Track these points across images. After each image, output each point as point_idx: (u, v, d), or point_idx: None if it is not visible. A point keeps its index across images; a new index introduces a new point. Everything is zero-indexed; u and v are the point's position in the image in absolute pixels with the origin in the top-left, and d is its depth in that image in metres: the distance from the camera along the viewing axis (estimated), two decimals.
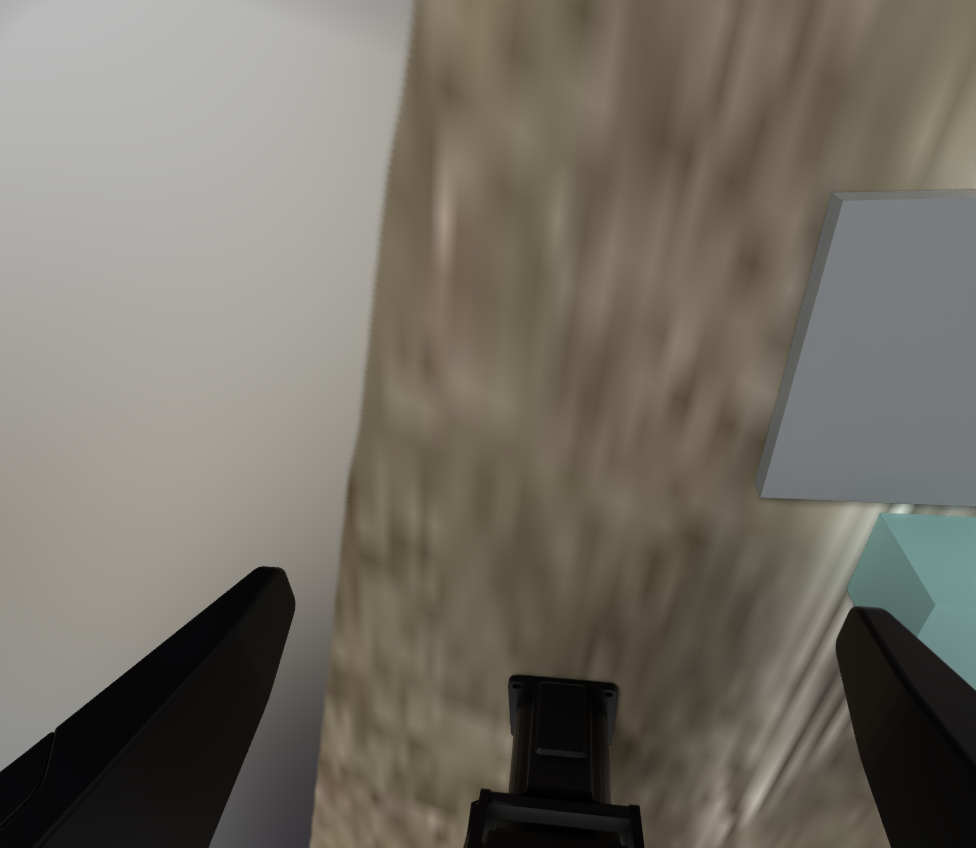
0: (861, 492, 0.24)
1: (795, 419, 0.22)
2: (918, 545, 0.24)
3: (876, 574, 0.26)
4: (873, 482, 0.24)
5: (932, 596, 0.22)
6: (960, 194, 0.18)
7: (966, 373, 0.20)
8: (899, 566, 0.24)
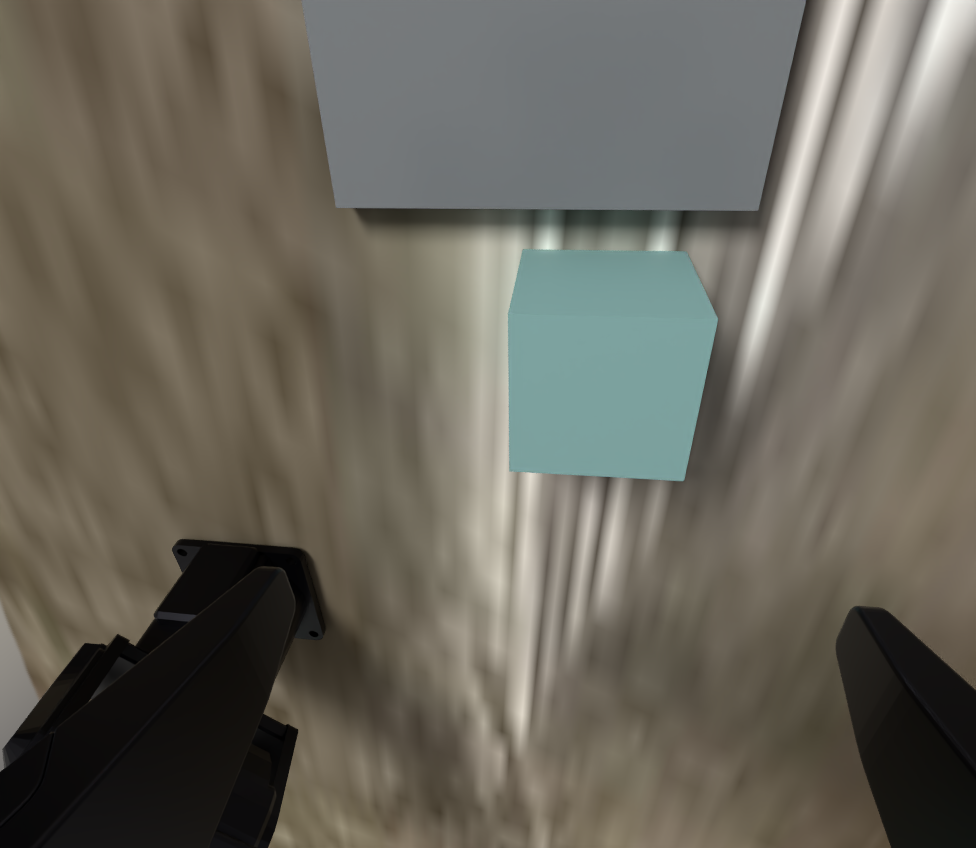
0: (460, 190, 0.17)
1: (327, 49, 0.15)
2: (543, 270, 0.17)
3: None
4: (470, 170, 0.16)
5: (512, 307, 0.15)
6: None
7: None
8: None
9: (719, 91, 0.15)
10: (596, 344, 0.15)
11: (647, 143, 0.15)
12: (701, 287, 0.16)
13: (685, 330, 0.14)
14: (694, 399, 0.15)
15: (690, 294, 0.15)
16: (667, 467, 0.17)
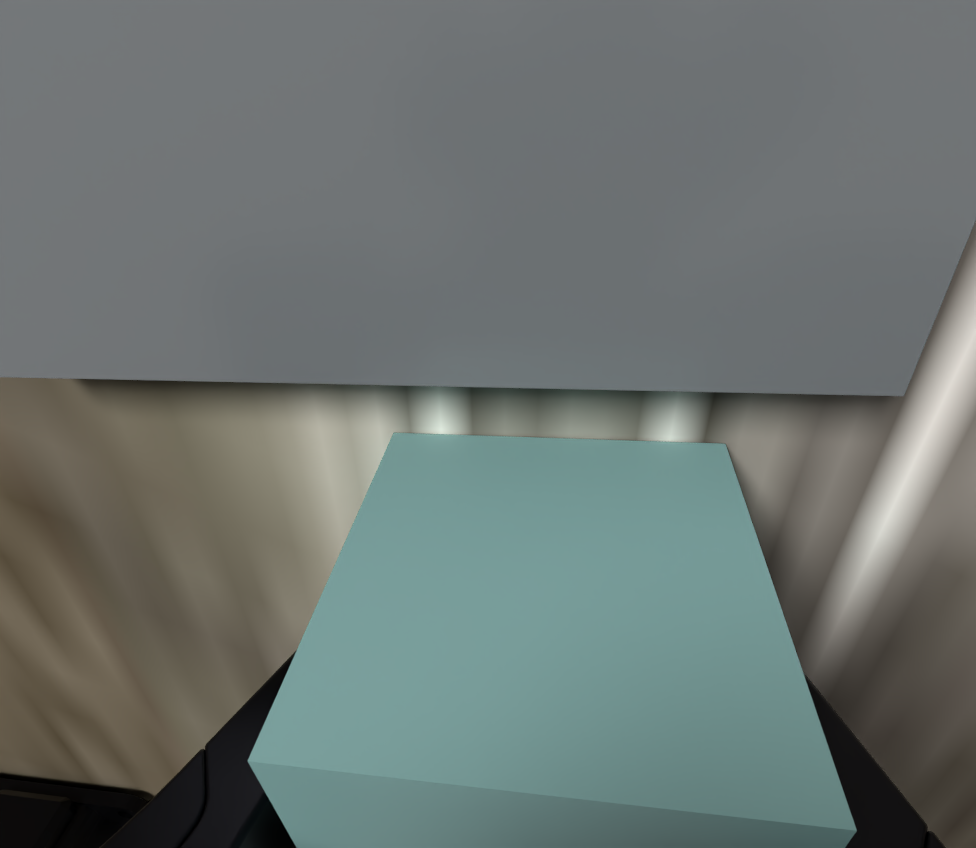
0: (220, 348, 0.08)
1: None
2: (409, 522, 0.08)
3: None
4: (230, 309, 0.07)
5: (272, 718, 0.05)
6: None
7: None
8: None
9: (825, 121, 0.05)
10: (501, 828, 0.05)
11: (632, 251, 0.06)
12: (778, 613, 0.06)
13: (750, 835, 0.05)
14: None
15: (753, 653, 0.06)
16: None
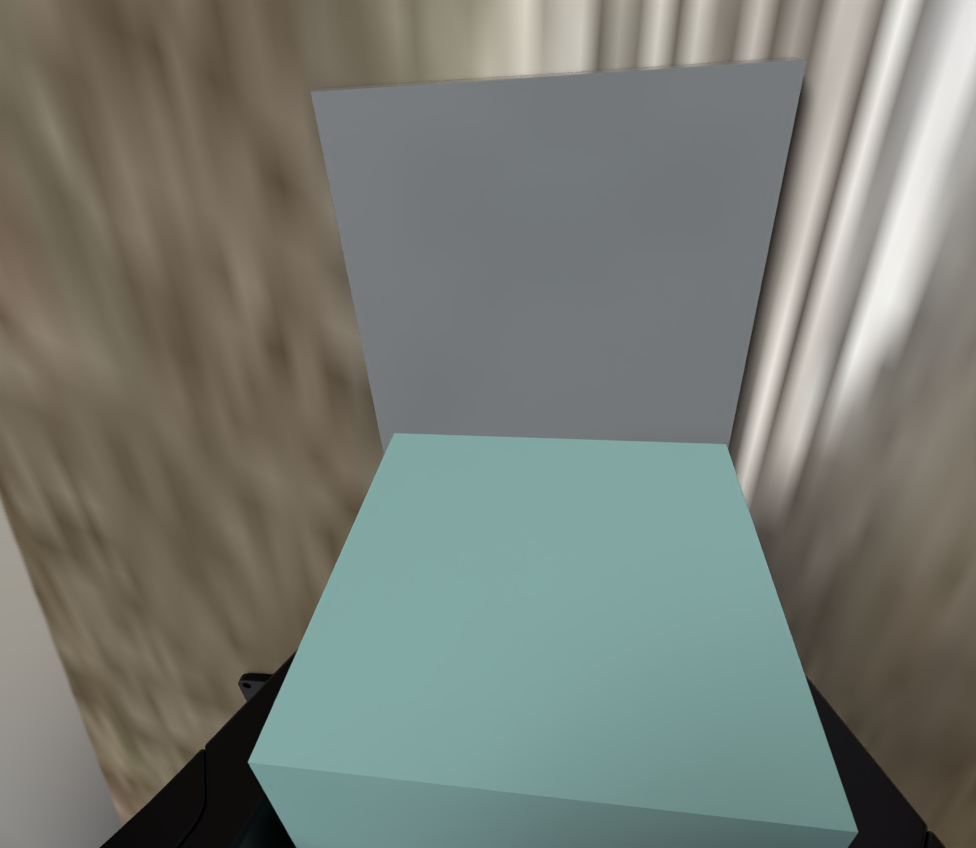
0: None
1: (380, 367, 0.20)
2: (410, 523, 0.08)
3: None
4: None
5: (274, 718, 0.05)
6: (445, 82, 0.15)
7: (533, 305, 0.18)
8: None
9: (686, 398, 0.19)
10: (501, 830, 0.05)
11: (633, 427, 0.20)
12: (779, 614, 0.06)
13: (753, 838, 0.05)
14: None
15: (755, 653, 0.06)
16: None
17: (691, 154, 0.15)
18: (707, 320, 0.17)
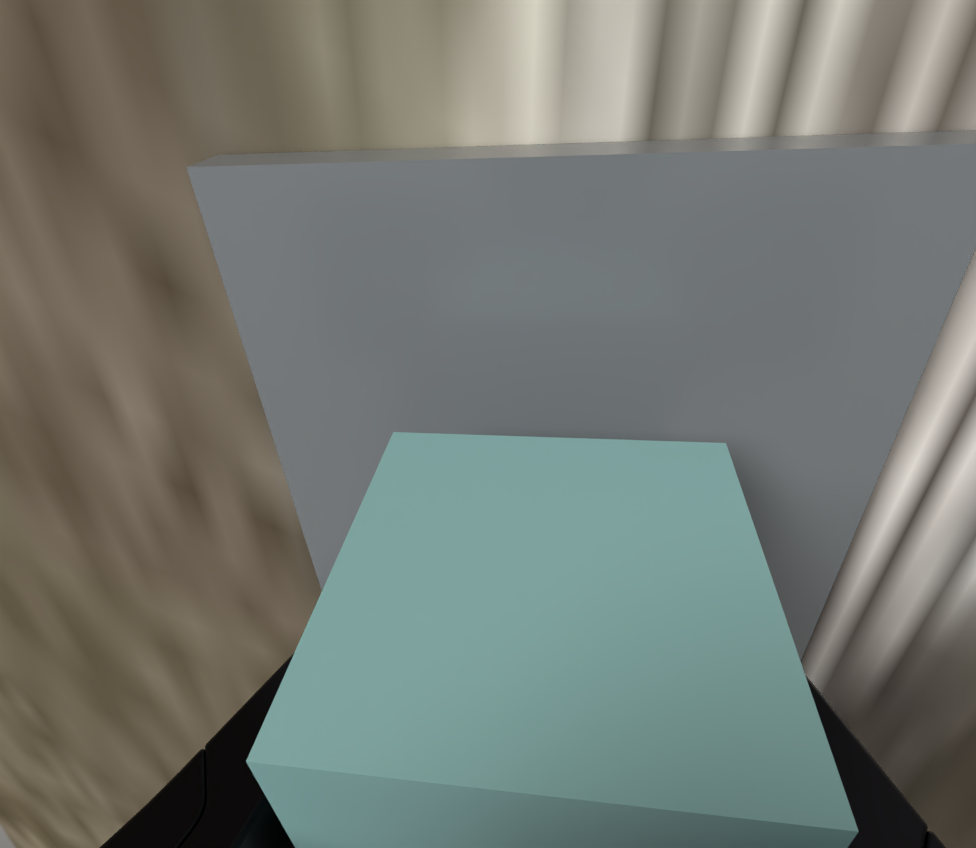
0: None
1: (320, 530, 0.14)
2: (409, 523, 0.08)
3: None
4: None
5: (272, 717, 0.05)
6: (401, 155, 0.09)
7: None
8: None
9: None
10: (500, 830, 0.05)
11: None
12: (779, 613, 0.06)
13: (751, 835, 0.05)
14: None
15: (756, 652, 0.06)
16: None
17: (798, 281, 0.09)
18: (796, 500, 0.12)
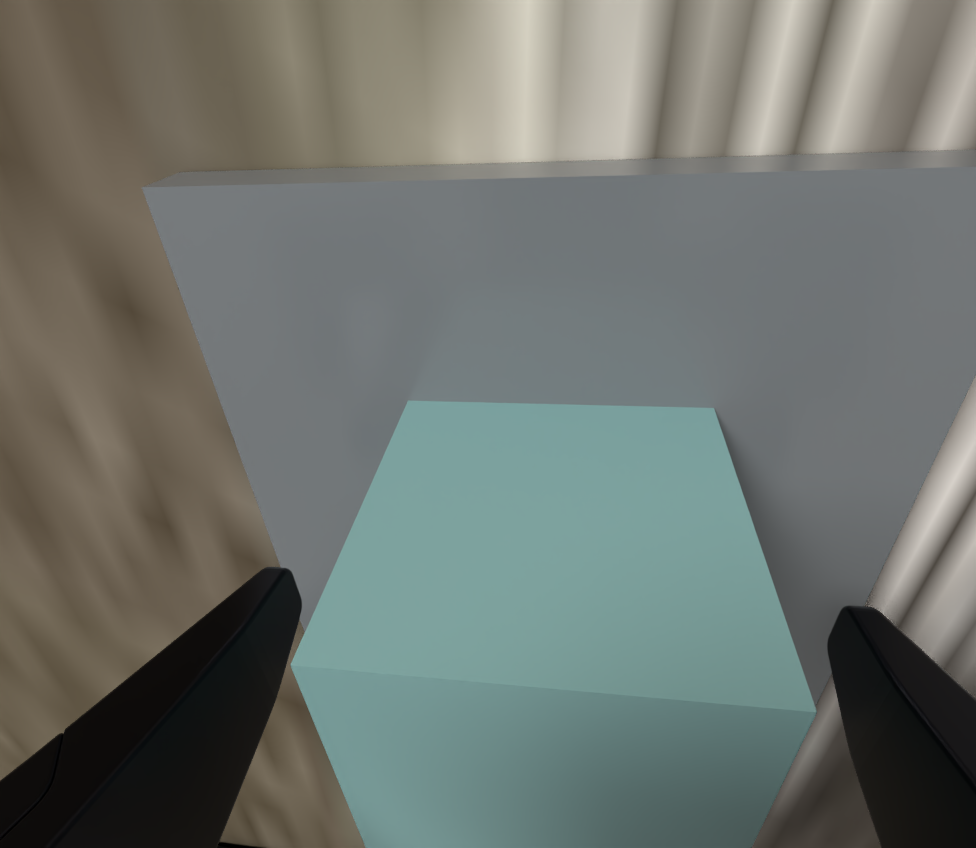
0: None
1: (301, 569, 0.13)
2: (425, 476, 0.08)
3: None
4: None
5: (311, 631, 0.06)
6: (381, 174, 0.08)
7: None
8: None
9: None
10: (510, 726, 0.06)
11: None
12: (757, 547, 0.07)
13: (727, 721, 0.06)
14: (748, 821, 0.07)
15: (734, 578, 0.07)
16: None
17: (821, 314, 0.08)
18: (813, 545, 0.11)
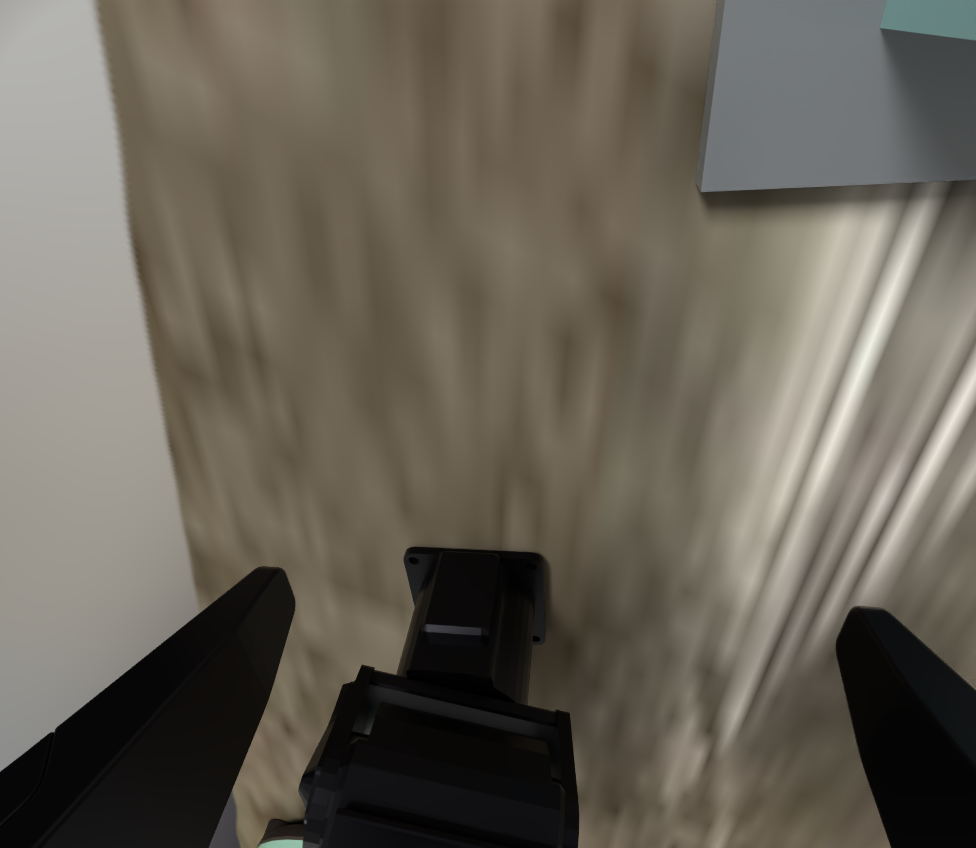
0: (856, 165, 0.15)
1: (744, 13, 0.14)
2: None
3: None
4: (875, 141, 0.15)
5: None
6: None
7: None
8: None
9: None
10: None
11: None
12: None
13: None
14: None
15: None
16: None
17: None
18: None
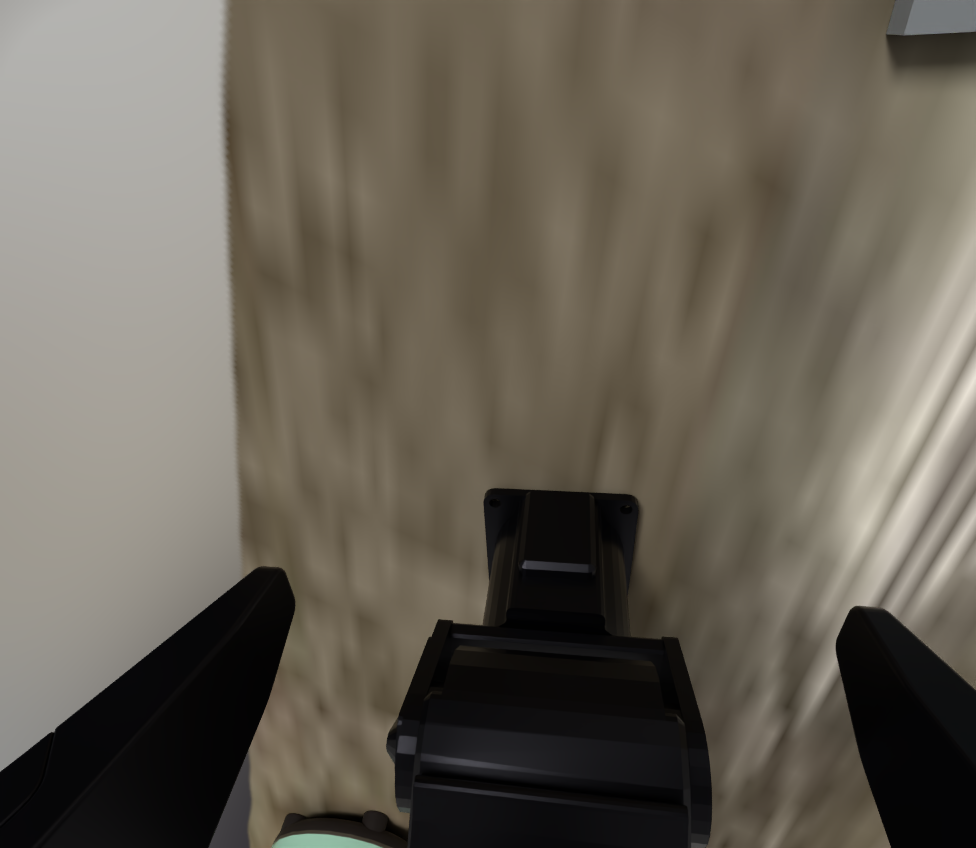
0: None
1: None
2: None
3: None
4: None
5: None
6: None
7: None
8: None
9: None
10: None
11: None
12: None
13: None
14: None
15: None
16: None
17: None
18: None
